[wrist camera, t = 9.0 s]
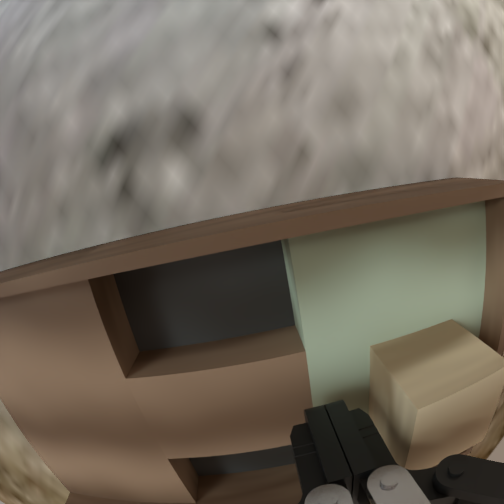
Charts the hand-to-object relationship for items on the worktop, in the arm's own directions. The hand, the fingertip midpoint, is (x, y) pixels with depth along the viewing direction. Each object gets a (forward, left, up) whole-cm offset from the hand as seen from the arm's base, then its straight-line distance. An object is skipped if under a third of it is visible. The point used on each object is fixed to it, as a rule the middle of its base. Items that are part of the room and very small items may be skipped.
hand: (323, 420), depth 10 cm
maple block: (0, +4, -1) cm, 4 cm away
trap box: (0, -4, -4) cm, 5 cm away
